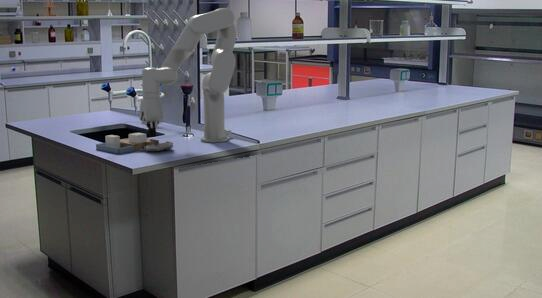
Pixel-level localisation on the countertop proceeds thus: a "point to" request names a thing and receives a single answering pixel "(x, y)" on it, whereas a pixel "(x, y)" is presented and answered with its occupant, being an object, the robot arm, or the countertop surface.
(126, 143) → the board
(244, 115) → the countertop surface
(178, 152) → the countertop surface
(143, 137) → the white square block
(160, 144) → the stone
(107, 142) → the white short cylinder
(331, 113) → the countertop surface
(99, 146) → the box
